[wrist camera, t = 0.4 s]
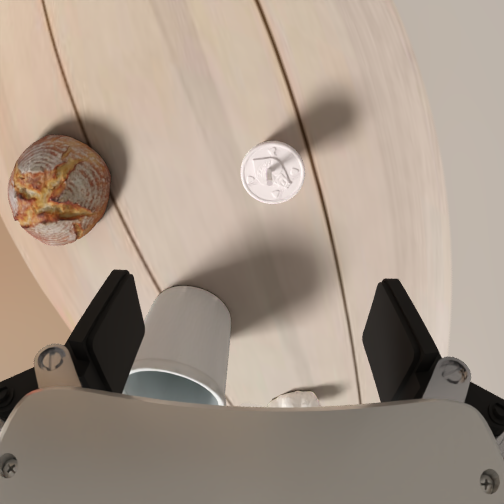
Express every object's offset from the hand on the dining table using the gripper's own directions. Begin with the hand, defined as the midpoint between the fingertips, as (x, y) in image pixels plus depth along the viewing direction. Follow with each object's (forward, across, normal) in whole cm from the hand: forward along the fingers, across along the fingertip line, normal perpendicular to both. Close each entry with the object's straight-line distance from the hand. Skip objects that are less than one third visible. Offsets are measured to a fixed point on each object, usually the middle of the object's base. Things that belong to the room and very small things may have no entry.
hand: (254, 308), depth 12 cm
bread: (+31, +30, +4) cm, 43 cm away
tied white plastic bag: (+31, -9, +51) cm, 60 cm away
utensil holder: (+31, +11, +28) cm, 43 cm away
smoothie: (+31, -1, 0) cm, 31 cm away
